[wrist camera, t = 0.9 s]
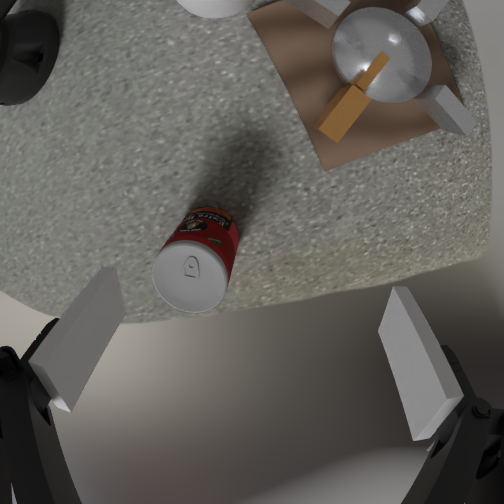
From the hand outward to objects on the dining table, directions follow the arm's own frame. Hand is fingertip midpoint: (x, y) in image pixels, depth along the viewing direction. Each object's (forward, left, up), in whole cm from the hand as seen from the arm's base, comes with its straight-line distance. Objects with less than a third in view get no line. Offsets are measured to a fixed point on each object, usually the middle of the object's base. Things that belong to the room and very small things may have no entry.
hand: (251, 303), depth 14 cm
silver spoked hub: (-9, +17, -20) cm, 27 cm away
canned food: (+3, -9, -24) cm, 26 cm away
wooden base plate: (-9, +17, -24) cm, 30 cm away
